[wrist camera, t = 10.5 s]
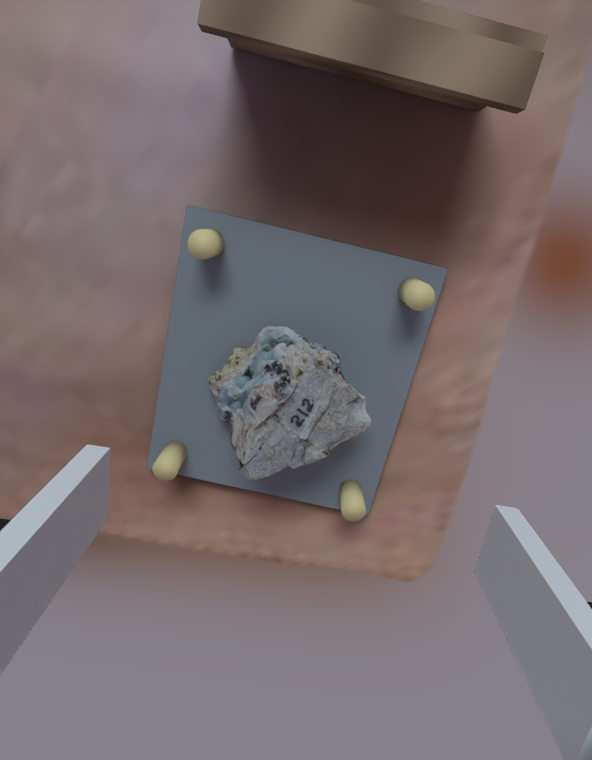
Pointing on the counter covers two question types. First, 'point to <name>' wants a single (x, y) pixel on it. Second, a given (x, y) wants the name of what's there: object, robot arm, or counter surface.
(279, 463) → the mineral specimen
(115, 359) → the counter surface
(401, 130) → the counter surface
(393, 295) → the base
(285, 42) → the panel
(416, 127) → the counter surface
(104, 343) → the counter surface
